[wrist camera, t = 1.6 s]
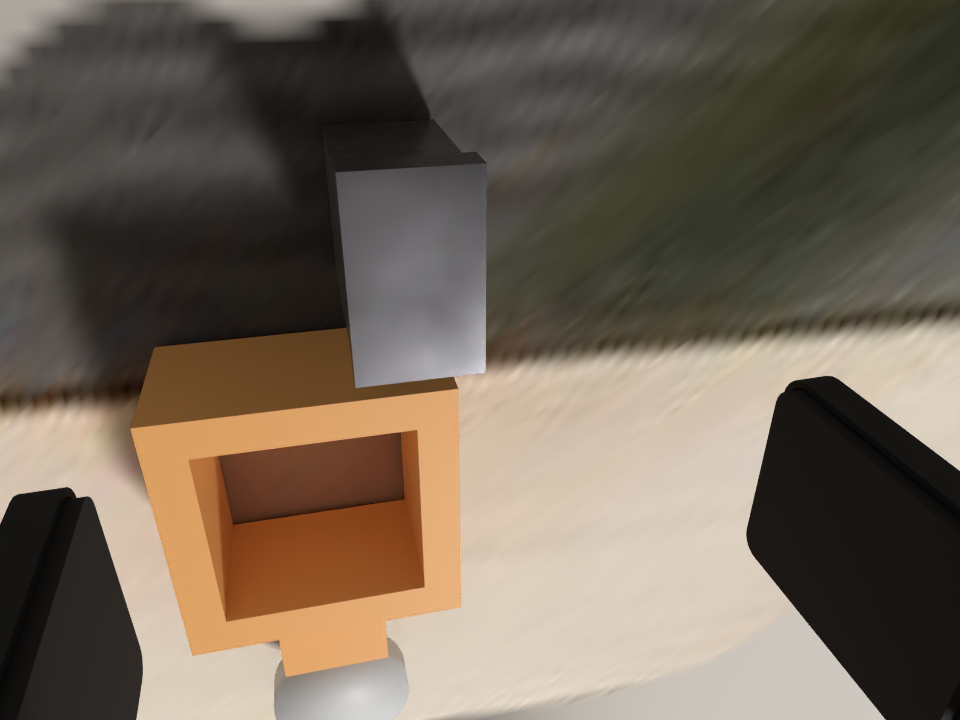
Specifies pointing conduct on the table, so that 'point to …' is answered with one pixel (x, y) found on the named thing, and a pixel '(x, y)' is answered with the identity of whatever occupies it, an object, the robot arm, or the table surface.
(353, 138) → the grey rectangular block
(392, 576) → the orange handled frame
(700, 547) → the table surface
